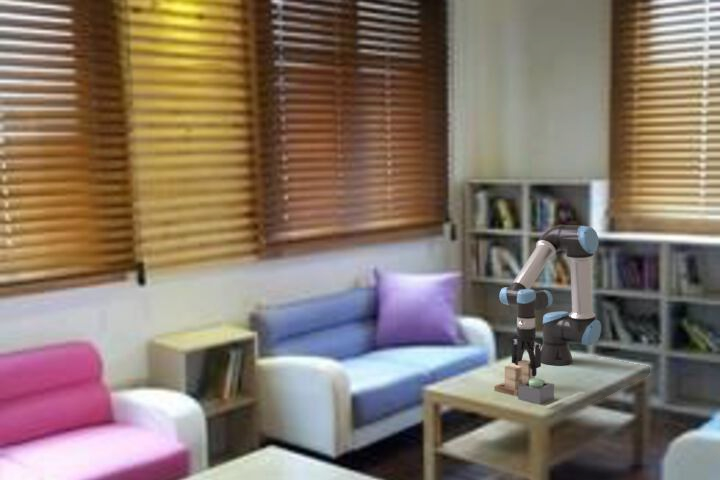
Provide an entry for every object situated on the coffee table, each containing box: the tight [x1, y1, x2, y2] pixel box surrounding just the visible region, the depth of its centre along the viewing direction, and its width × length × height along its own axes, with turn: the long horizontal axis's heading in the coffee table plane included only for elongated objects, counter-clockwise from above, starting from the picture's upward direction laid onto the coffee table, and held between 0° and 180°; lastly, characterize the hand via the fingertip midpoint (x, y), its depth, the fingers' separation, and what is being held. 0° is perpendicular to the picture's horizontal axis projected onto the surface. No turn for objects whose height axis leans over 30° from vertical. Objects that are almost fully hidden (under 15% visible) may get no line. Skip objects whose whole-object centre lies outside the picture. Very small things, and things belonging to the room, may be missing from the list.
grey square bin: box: [517, 381, 555, 406], centre depth 326 cm, size 10×10×7 cm
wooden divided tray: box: [493, 379, 545, 397], centre depth 341 cm, size 20×11×3 cm, turn 135°
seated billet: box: [504, 363, 522, 390], centre depth 338 cm, size 5×5×10 cm
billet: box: [518, 359, 532, 383], centre depth 344 cm, size 5×5×10 cm
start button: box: [529, 378, 543, 388], centre depth 326 cm, size 6×6×3 cm
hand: (526, 381), depth 345 cm, fingers open, 5 cm apart
